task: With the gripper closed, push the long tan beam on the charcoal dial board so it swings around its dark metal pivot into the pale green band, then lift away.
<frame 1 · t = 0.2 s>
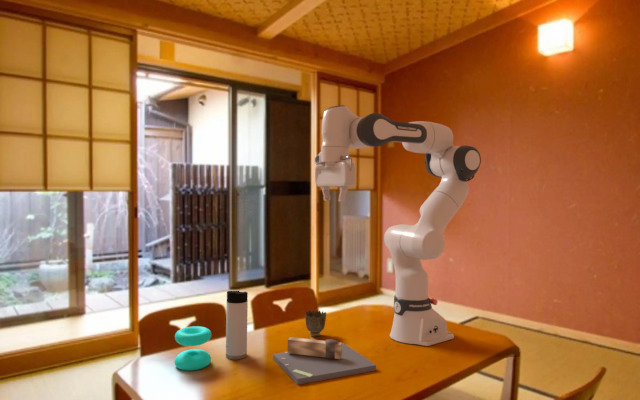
hand: (334, 201, 140), 47 cm above the table, tool pointing down, fingers open, 8 cm apart
donuts: (192, 365, 126), on the table
long tan beam: (314, 346, 131), point 4 cm above the table, hinge at -40.0°
dial board: (323, 364, 129), on the table
travel mug: (235, 356, 134), on the table
cup: (315, 336, 154), on the table
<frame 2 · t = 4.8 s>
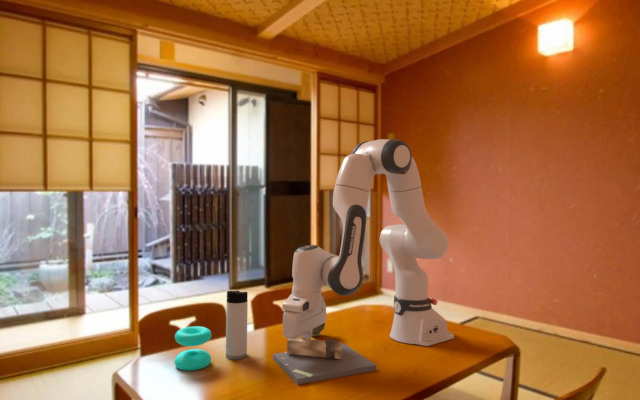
hand: (305, 345, 134), 4 cm above the table, tool pointing down, fingers closed
long tan beam: (314, 347, 131), point 4 cm above the table, hinge at -37.4°, touching gripper
everything else where it was.
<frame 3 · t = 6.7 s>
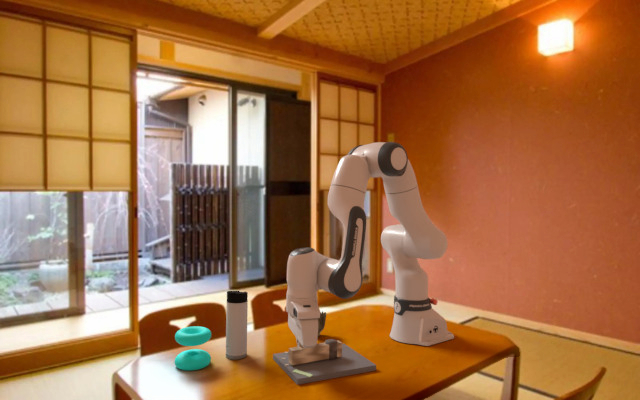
hand: (301, 352, 128), 4 cm above the table, tool pointing down, fingers closed
long tan beam: (316, 351, 127), point 4 cm above the table, hinge at 2.8°, touching gripper
everything else where it was.
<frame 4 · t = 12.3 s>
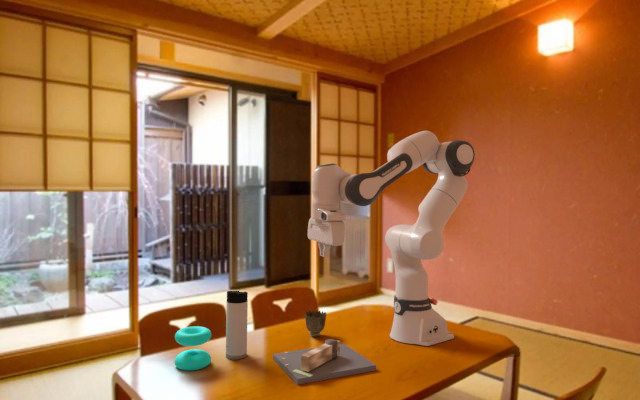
hand: (324, 256, 143), 29 cm above the table, tool pointing down, fingers closed
long tan beam: (321, 353, 125), point 4 cm above the table, hinge at 30.2°
everything else where it was.
at the end: long tan beam at +30° (first picture: -40°); travel mug moved 0.2 cm from its start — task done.
